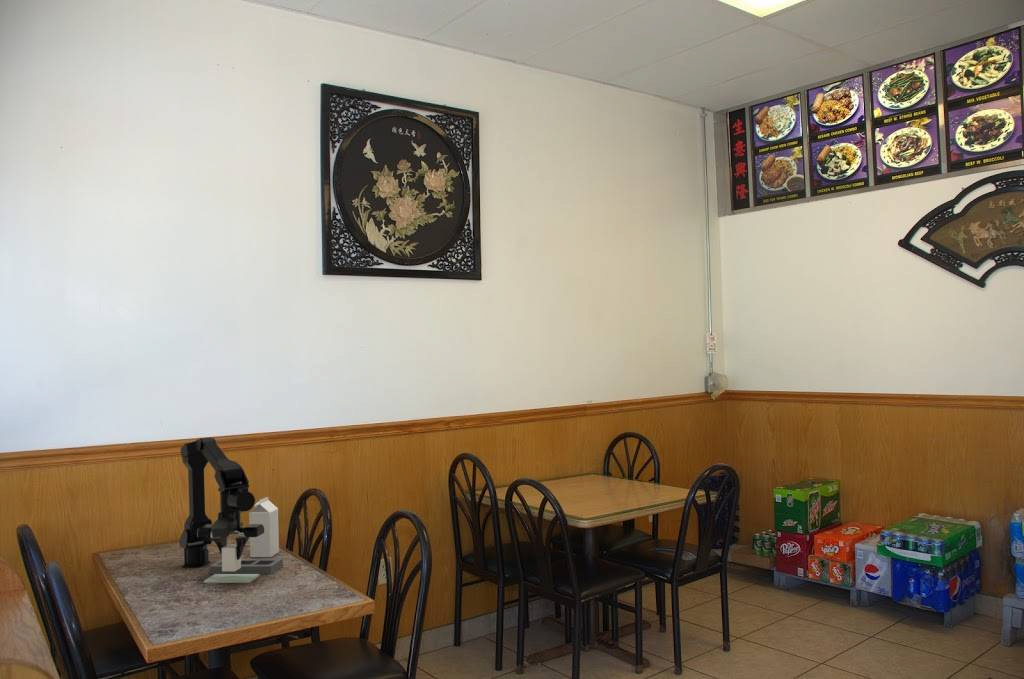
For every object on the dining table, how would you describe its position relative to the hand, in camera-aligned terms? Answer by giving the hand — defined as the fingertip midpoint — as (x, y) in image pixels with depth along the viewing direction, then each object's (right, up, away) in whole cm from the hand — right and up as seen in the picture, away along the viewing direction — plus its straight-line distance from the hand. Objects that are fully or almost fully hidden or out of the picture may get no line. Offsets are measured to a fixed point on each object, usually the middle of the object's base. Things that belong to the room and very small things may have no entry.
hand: (231, 559), depth 233 cm
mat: (0, -6, 0) cm, 6 cm away
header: (+1, -6, +10) cm, 12 cm away
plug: (0, -3, 0) cm, 3 cm away
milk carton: (+1, -7, +28) cm, 29 cm away
